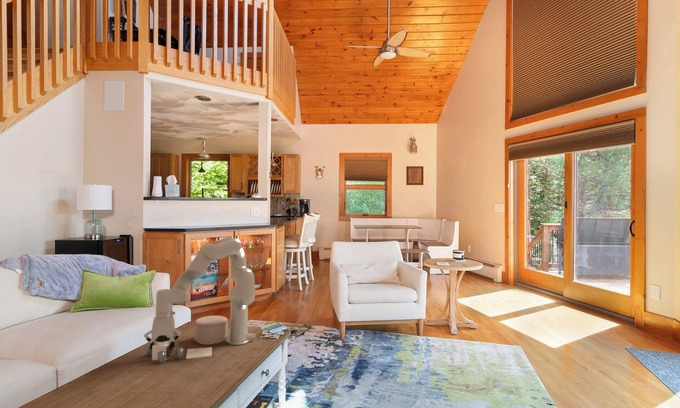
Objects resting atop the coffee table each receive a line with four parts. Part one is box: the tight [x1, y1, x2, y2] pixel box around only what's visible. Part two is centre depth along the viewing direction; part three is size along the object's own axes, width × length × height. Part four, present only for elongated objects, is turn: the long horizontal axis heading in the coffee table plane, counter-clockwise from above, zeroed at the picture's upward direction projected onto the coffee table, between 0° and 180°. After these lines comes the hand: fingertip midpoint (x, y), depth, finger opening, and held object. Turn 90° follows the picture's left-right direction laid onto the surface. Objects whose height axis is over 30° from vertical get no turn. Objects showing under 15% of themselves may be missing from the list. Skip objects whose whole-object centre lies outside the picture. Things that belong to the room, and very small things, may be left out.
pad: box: [185, 346, 213, 360], centre depth 187 cm, size 12×12×1 cm
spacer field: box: [145, 344, 184, 365], centre depth 181 cm, size 18×16×5 cm
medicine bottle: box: [151, 335, 174, 361], centre depth 181 cm, size 7×7×12 cm
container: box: [193, 315, 229, 345], centre depth 208 cm, size 18×18×12 cm
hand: (162, 349), depth 181 cm, fingers closed on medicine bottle, 8 cm apart
